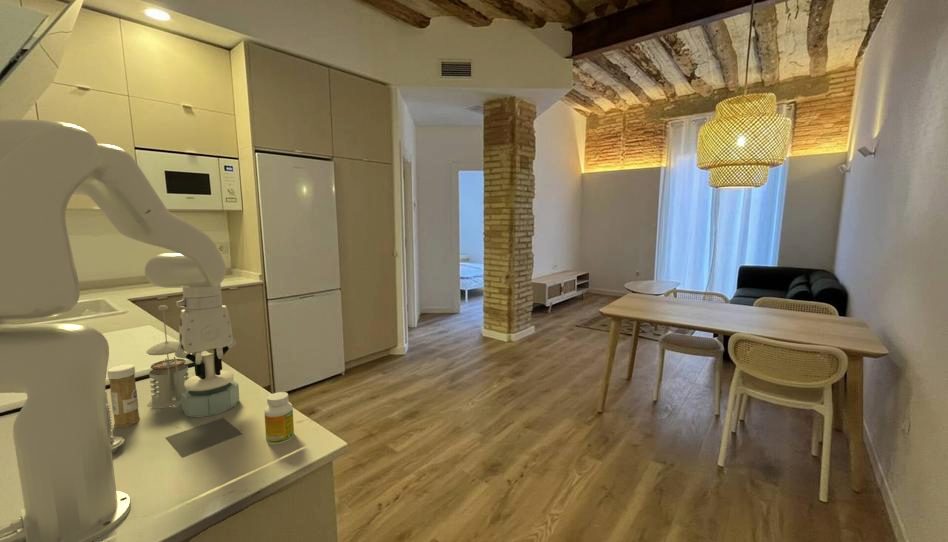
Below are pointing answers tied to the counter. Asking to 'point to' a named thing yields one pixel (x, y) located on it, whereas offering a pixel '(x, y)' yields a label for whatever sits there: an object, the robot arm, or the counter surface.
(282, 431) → the supplement bottle
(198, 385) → the lid
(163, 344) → the french press
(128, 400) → the sprinkles bottle
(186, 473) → the counter surface
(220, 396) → the bowl
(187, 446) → the mat
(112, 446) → the screw
